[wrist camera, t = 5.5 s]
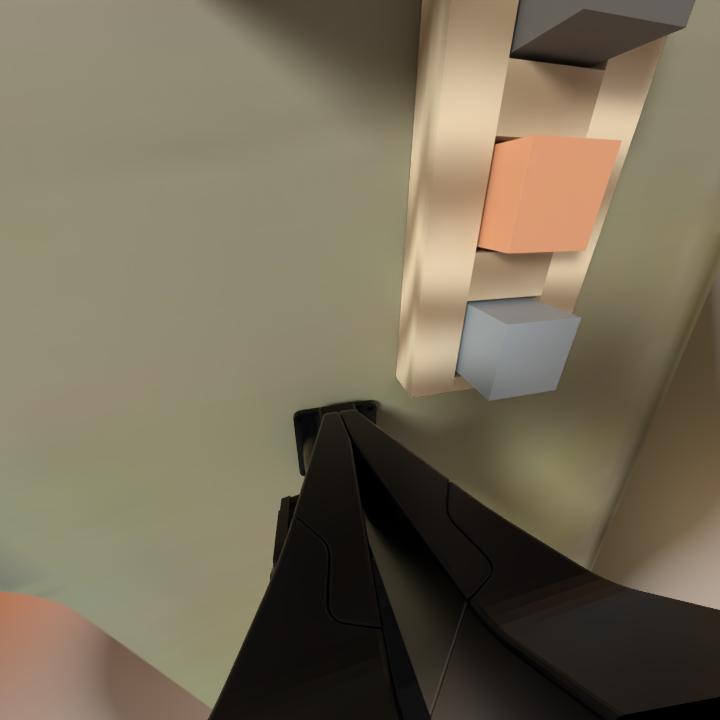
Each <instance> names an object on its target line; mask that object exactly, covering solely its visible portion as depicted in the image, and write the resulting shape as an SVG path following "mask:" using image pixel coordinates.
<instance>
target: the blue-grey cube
mask: <svg viewBox="0 0 720 720" xmlns="http://www.w3.org/2000/svg"><path fill="white" fill-rule="evenodd" d="M581 318H582V317H580V316H577V315H575V314H572V313H569V312H567V311H564V310H561V309H559V308H556V307H553V306H551V305H548V304H545V303H543V302H540V301H537V300H535V299H532V298H529V297H514V298H502V299H489V300H476V301H467V305H466V311H465V317H464V323H463V329H462V335H461V340H460V346H459V352H458V358H457V364H456V370H455V371H456V372H457V373H459V374H460V375H461V376H462V377H463V378H464V379H465V380H466V381H467V382H468V383H469V384H471V385H472V386H473V387H474V388H475V389H476V390H477V391H478V392H479V393H480V394H481V395H483V396H484V397H485V398H486V399H487V400H488V401H493V400H499V399H505V398H511V397H517V396H523V395H529V394H535V393H541V392H547V391H553V390H556V388H557V385H558V382H559V379H560V376H561V374H562V371H563V368H564V365H565V362H566V360H567V357H568V354H569V351H570V348H571V346H572V343H573V340H574V337H575V335H576V332H577V329H578V326H579V323H580V321H581Z"/></svg>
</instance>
